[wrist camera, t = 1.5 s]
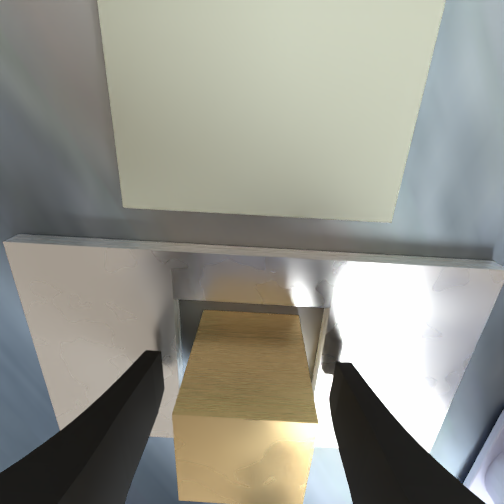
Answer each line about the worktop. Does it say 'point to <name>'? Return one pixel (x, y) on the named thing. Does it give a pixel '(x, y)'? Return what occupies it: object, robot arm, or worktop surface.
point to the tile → (266, 103)
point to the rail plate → (254, 292)
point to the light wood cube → (245, 411)
